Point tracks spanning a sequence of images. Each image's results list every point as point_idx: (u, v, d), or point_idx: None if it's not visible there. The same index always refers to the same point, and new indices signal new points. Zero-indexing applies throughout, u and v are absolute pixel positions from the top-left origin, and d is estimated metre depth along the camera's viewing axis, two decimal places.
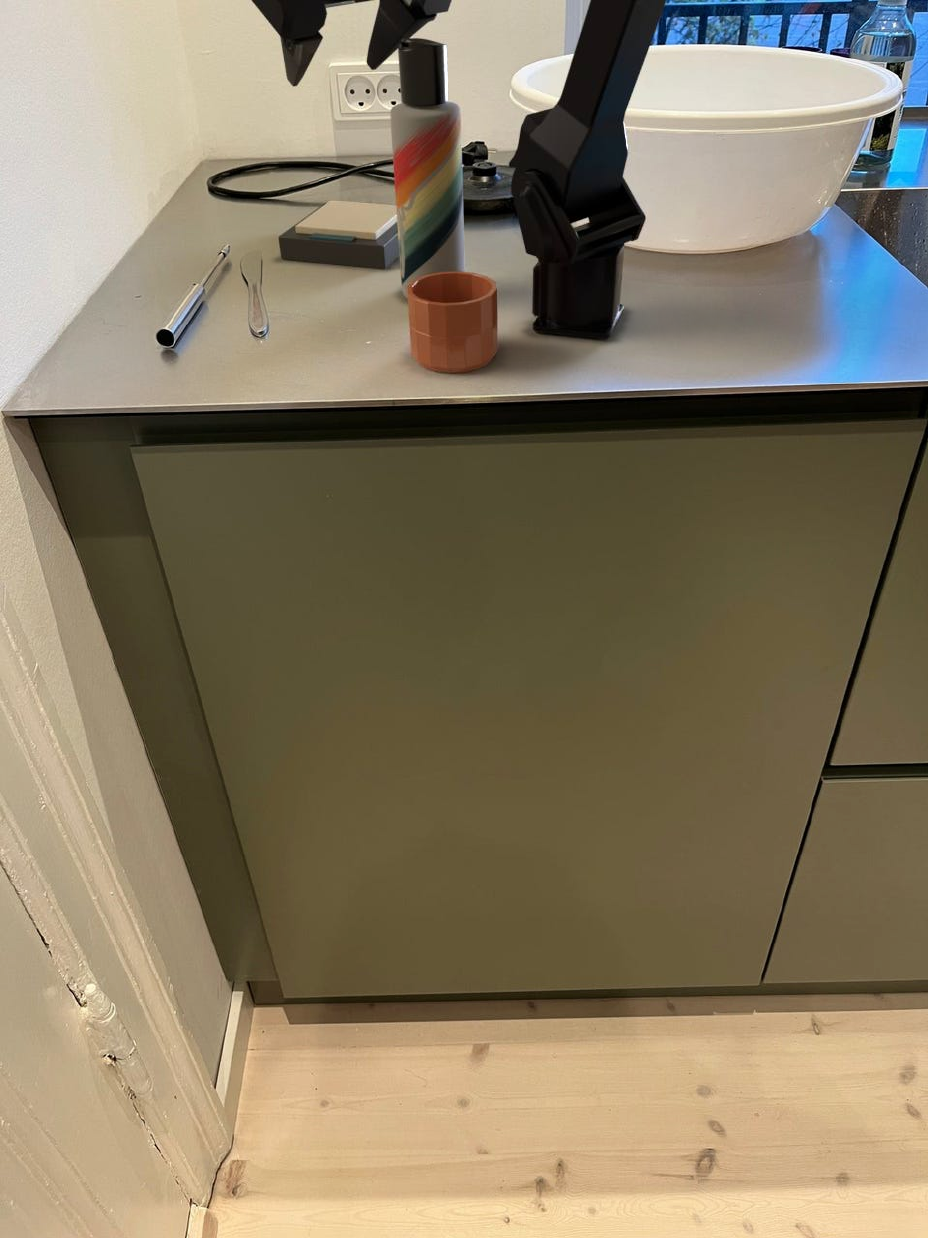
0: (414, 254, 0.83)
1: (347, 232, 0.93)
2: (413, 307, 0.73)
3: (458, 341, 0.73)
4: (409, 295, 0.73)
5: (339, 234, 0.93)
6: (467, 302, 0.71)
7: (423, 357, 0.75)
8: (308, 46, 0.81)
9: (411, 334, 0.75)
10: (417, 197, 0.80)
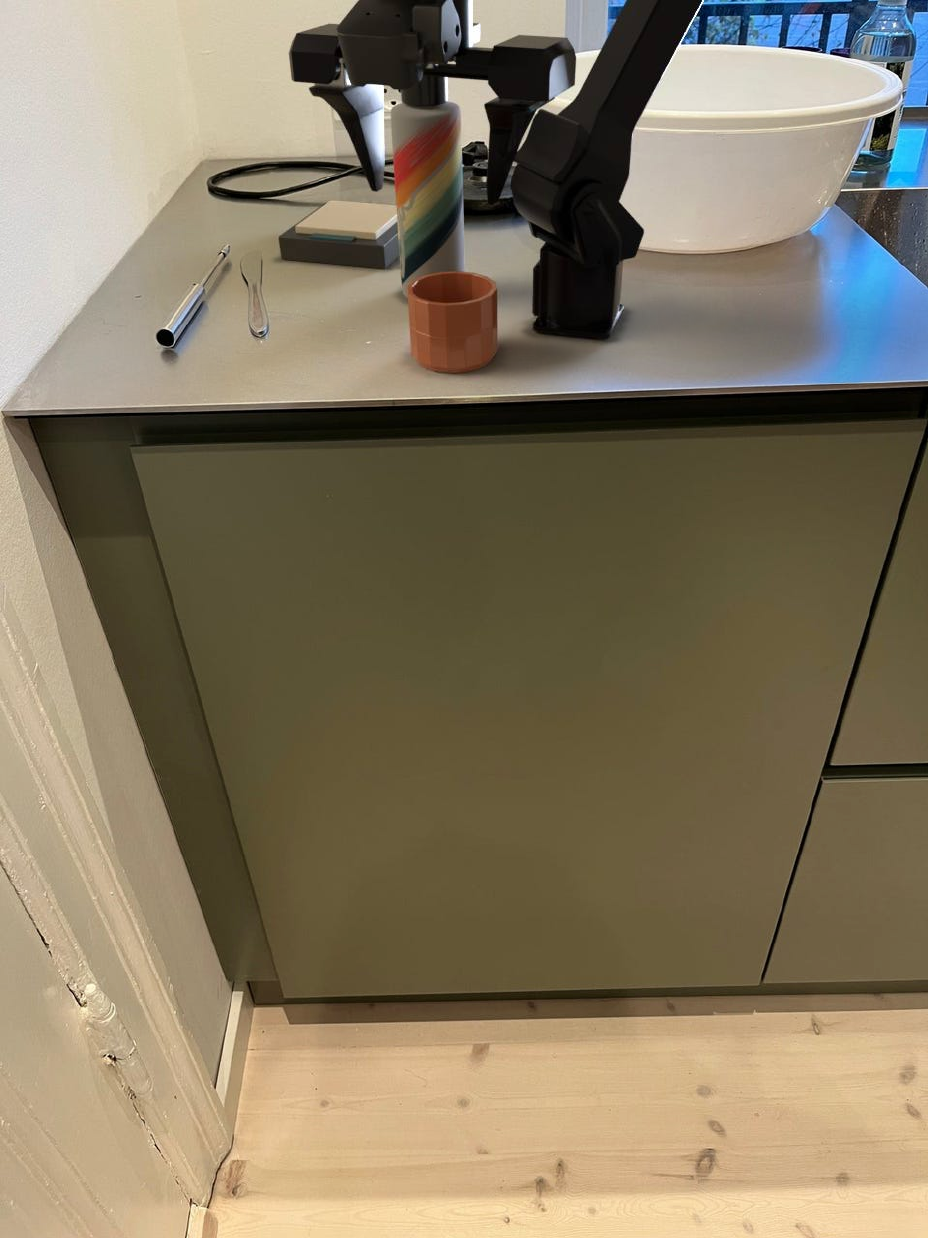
0: (414, 254, 0.83)
1: (347, 232, 0.93)
2: (413, 307, 0.73)
3: (458, 341, 0.73)
4: (409, 295, 0.73)
5: (339, 234, 0.93)
6: (467, 302, 0.71)
7: (423, 357, 0.75)
8: None
9: (411, 334, 0.75)
10: (417, 197, 0.80)
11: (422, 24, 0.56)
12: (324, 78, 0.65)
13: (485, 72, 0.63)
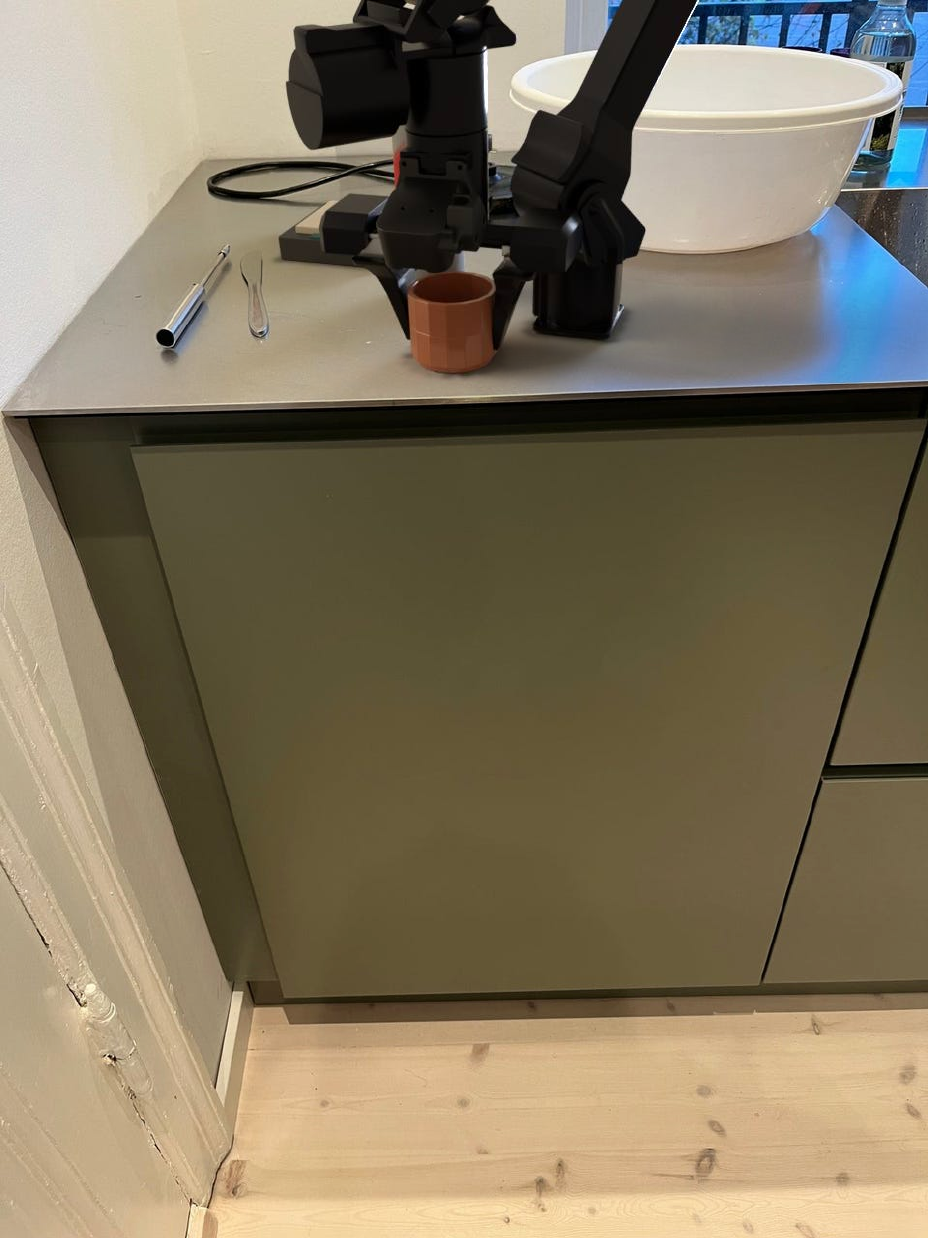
0: None
1: None
2: (413, 307, 0.73)
3: (458, 341, 0.73)
4: (409, 295, 0.73)
5: None
6: (467, 302, 0.71)
7: (423, 357, 0.75)
8: None
9: (411, 334, 0.75)
10: None
11: (456, 221, 0.63)
12: (354, 250, 0.71)
13: (502, 243, 0.70)
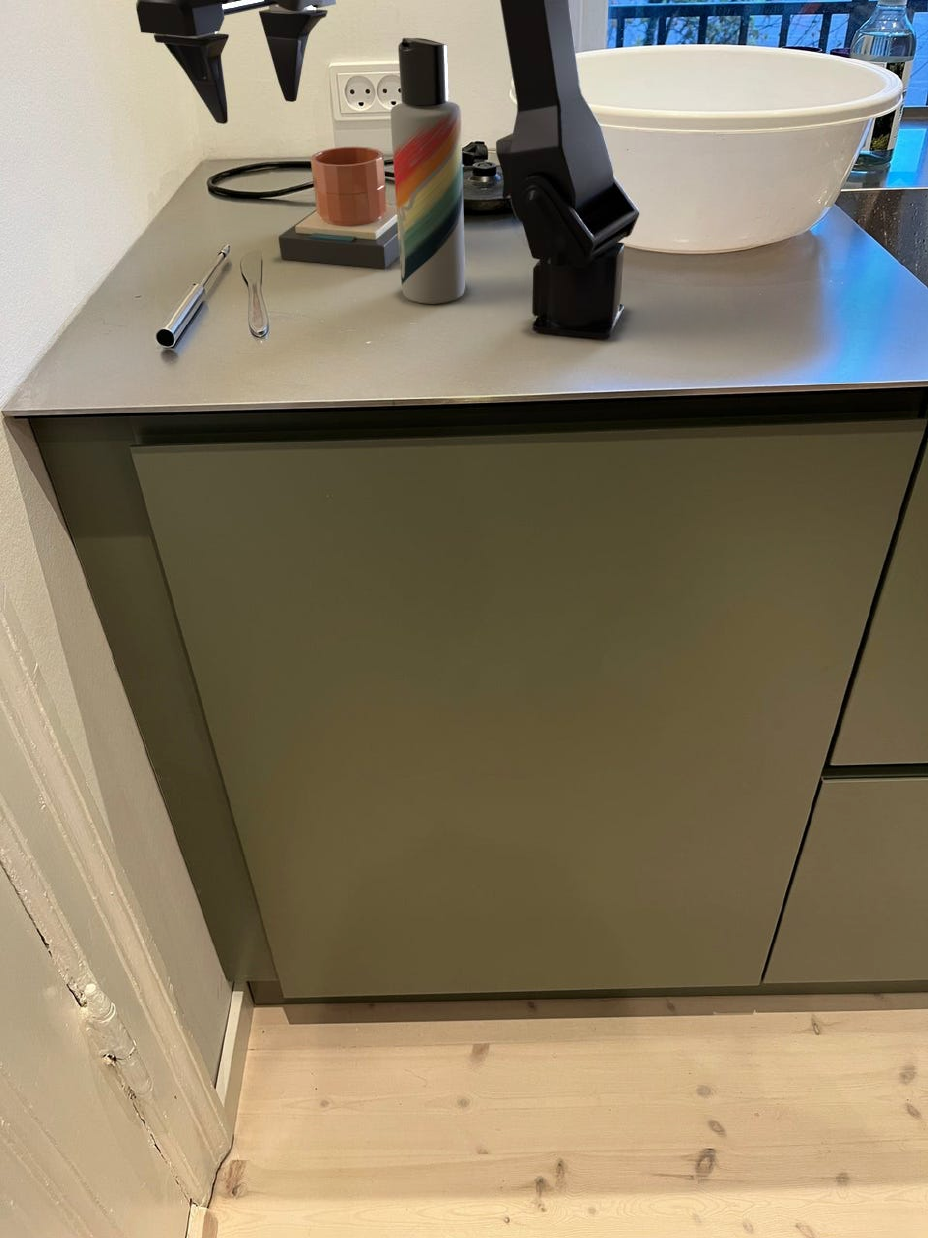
0: (414, 254, 0.83)
1: (347, 232, 0.93)
2: (347, 174, 0.90)
3: (382, 189, 0.93)
4: (340, 166, 0.90)
5: (339, 234, 0.93)
6: (380, 155, 0.92)
7: (361, 214, 0.93)
8: None
9: (343, 201, 0.92)
10: (417, 197, 0.80)
11: None
12: (217, 25, 0.77)
13: None
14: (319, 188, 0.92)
